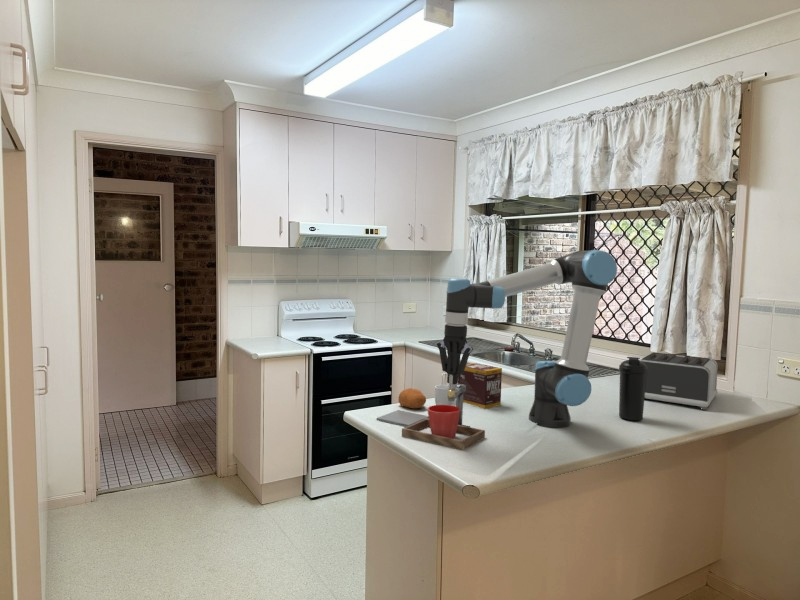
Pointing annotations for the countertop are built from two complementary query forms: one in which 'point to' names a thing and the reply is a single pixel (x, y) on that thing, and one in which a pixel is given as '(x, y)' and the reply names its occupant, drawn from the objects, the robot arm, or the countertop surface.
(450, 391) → the bar
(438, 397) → the mug
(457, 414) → the flower pot
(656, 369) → the toaster
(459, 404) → the post
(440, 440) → the wooden tray
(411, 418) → the plate
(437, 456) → the countertop surface
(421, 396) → the potato
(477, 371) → the supplement box
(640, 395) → the water bottle
